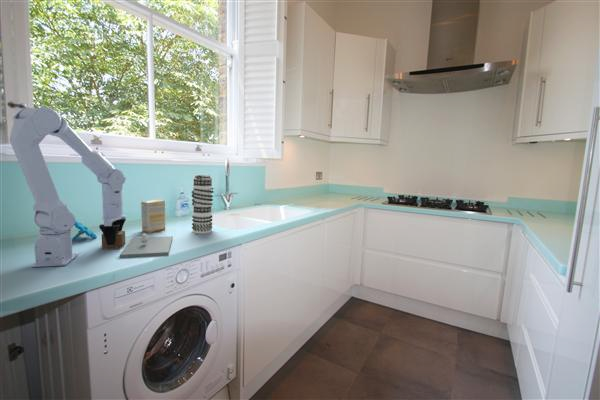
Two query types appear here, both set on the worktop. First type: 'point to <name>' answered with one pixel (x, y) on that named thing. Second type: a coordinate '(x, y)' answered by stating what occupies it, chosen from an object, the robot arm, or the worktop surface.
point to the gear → (83, 231)
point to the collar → (118, 244)
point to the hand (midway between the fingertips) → (114, 241)
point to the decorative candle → (202, 204)
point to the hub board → (147, 246)
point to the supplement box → (153, 215)
